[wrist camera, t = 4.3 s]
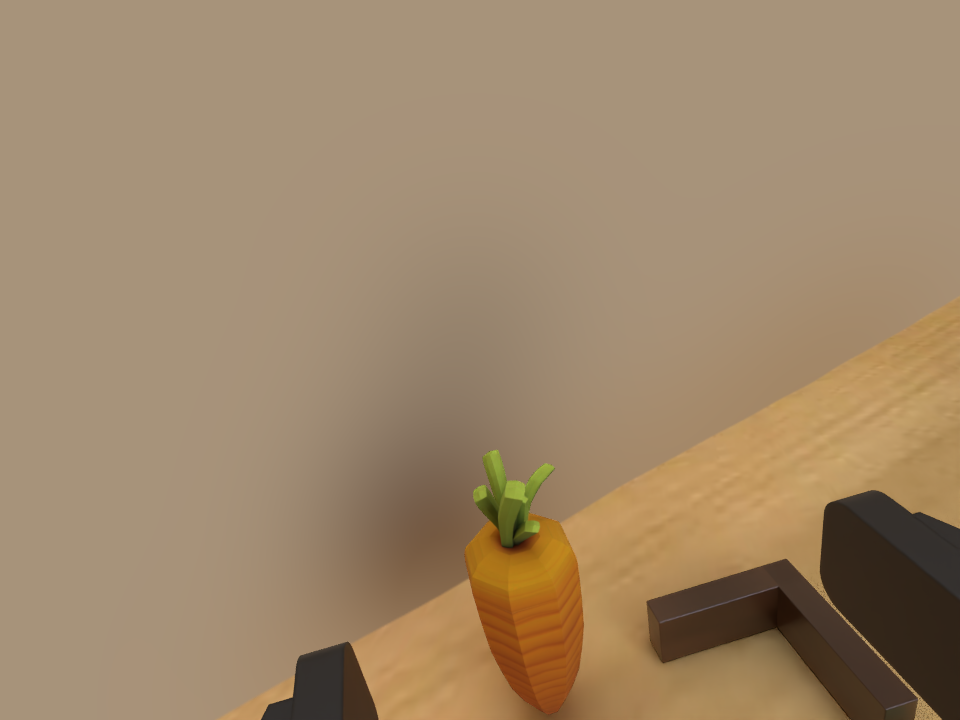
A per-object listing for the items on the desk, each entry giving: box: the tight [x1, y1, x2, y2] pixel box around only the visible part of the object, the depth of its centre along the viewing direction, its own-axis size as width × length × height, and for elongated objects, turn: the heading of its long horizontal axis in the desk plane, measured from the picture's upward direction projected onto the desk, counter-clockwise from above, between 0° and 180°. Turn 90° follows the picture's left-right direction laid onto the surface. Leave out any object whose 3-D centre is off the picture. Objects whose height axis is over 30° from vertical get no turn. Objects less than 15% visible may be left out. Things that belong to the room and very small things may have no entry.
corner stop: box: [647, 559, 918, 720], centre depth 29 cm, size 8×8×3 cm
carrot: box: [464, 450, 584, 715], centre depth 27 cm, size 5×5×15 cm
